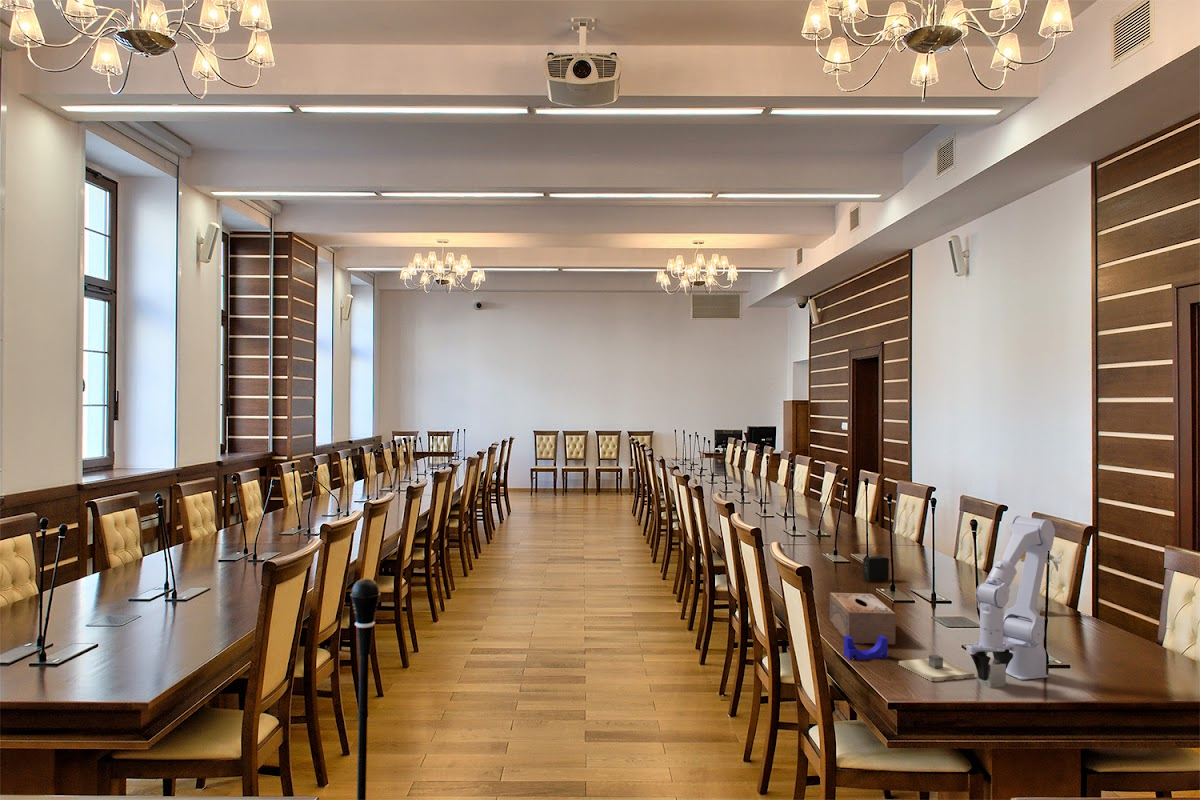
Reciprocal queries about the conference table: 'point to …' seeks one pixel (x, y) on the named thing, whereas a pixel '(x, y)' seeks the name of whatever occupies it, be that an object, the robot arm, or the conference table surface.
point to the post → (935, 661)
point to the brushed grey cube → (994, 674)
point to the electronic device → (876, 568)
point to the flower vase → (1055, 560)
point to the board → (936, 670)
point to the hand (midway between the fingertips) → (991, 678)
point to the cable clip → (874, 652)
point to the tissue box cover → (862, 617)
